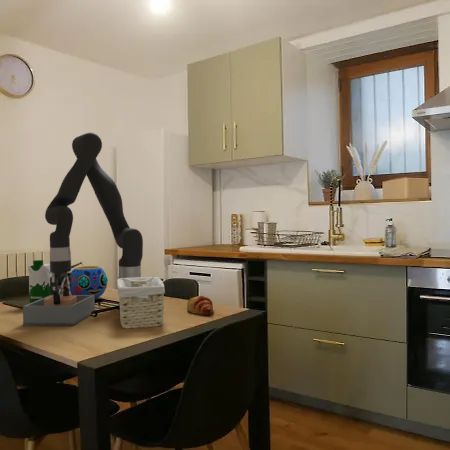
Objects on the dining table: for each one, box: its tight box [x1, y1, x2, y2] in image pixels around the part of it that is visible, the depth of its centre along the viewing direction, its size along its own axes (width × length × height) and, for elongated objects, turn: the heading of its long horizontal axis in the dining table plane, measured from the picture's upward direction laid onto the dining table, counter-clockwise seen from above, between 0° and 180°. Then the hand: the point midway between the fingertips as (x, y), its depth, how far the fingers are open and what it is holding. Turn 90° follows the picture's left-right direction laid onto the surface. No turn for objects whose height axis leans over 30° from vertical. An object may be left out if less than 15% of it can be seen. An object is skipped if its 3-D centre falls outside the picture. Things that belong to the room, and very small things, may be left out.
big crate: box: [22, 294, 96, 327], centre depth 170 cm, size 18×22×7 cm
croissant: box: [186, 295, 214, 316], centre depth 181 cm, size 21×10×8 cm, turn 25°
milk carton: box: [27, 259, 53, 304], centre depth 195 cm, size 9×9×20 cm
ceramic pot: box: [69, 265, 108, 300], centre depth 209 cm, size 18×18×15 cm
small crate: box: [44, 296, 77, 306], centre depth 170 cm, size 10×6×7 cm, turn 87°
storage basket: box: [116, 276, 166, 330], centre depth 165 cm, size 24×16×15 cm
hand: (61, 302), depth 170 cm, fingers open, 8 cm apart
